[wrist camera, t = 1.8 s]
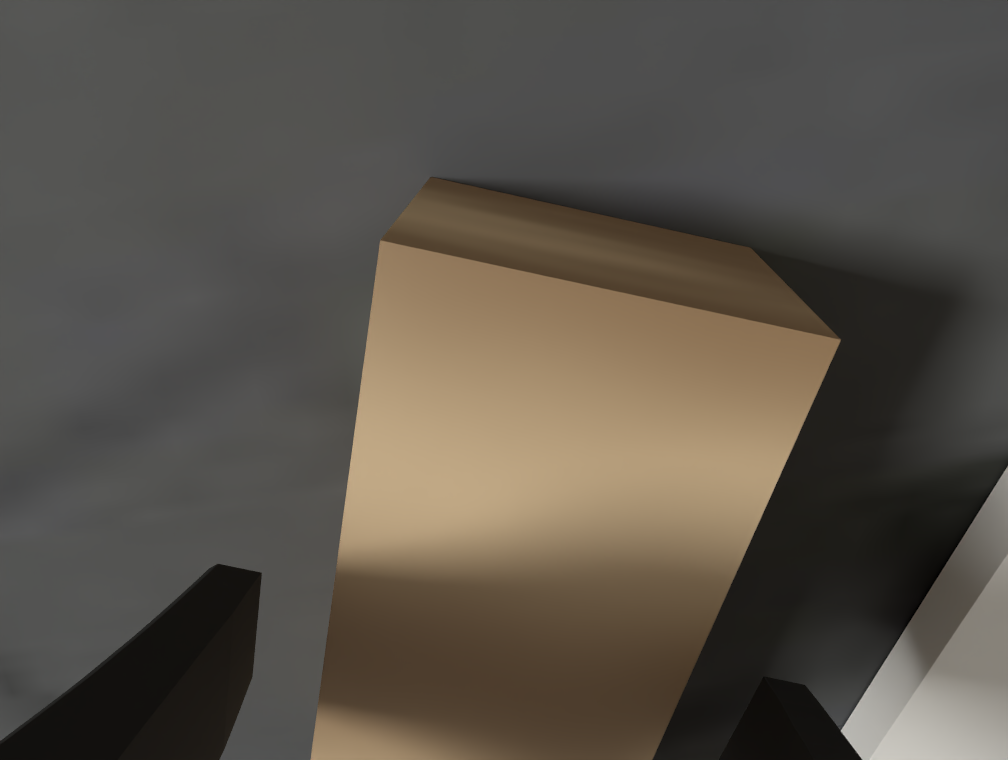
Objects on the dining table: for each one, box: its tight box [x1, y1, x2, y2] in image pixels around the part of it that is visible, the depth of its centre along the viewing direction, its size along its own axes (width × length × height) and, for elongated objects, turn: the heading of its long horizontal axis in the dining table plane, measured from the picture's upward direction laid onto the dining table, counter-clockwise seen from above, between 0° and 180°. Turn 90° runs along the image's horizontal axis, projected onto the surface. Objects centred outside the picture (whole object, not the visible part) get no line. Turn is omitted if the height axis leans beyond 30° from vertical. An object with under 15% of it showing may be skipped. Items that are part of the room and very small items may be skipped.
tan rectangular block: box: [311, 177, 841, 760], centre depth 12 cm, size 12×5×4 cm, turn 168°
